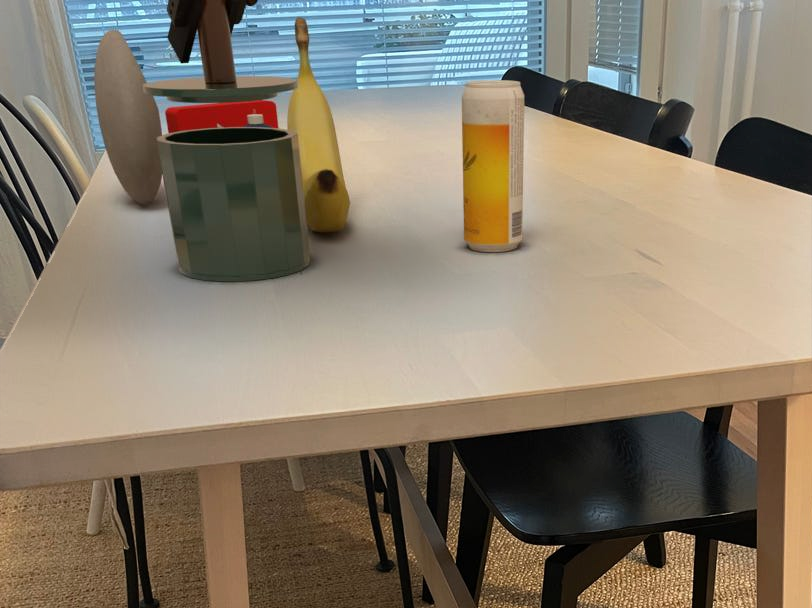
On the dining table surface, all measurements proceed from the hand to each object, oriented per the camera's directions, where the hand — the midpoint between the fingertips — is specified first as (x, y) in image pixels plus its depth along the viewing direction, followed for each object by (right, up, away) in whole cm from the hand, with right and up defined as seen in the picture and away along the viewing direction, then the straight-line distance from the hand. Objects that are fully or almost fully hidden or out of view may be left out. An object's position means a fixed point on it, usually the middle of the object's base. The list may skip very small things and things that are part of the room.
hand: (195, 49), depth 89 cm
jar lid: (+3, -4, -1) cm, 5 cm away
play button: (-8, +8, +45) cm, 47 cm away
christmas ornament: (-2, +5, +40) cm, 40 cm away
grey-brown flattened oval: (-17, +2, +36) cm, 40 cm away
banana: (+8, -6, +23) cm, 25 cm away
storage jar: (+3, -17, +8) cm, 19 cm away
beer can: (+27, -13, +14) cm, 33 cm away
